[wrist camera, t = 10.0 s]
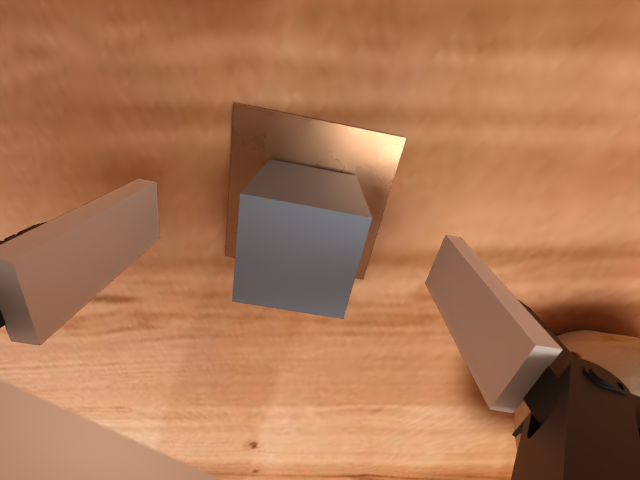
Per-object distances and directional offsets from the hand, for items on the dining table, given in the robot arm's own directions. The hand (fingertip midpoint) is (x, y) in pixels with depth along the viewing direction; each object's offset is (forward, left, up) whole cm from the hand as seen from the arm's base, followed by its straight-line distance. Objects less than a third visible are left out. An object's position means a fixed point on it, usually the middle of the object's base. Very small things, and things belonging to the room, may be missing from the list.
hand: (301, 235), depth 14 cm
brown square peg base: (0, 0, -6) cm, 6 cm away
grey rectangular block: (+1, 0, -5) cm, 5 cm away
